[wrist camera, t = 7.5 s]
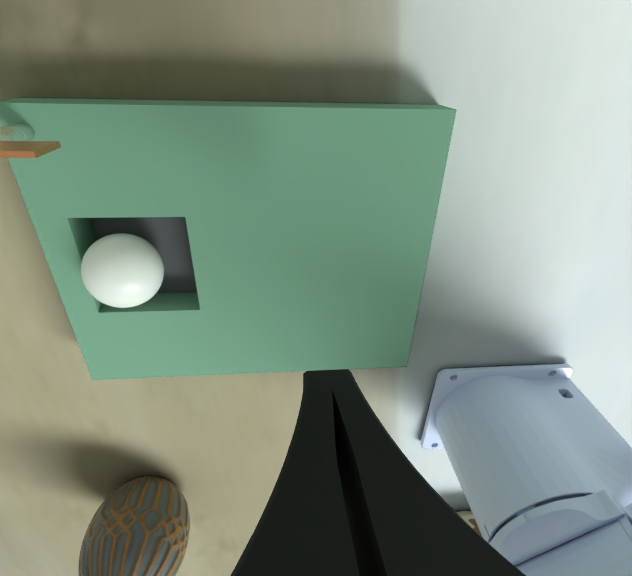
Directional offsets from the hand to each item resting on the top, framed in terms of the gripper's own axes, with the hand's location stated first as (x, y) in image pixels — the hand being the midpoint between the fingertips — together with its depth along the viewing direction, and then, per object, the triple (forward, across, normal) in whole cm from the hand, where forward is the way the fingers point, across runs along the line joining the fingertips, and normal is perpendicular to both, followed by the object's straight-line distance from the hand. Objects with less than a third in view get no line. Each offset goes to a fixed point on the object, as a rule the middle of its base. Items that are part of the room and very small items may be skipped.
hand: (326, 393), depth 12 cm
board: (+10, +3, 0) cm, 11 cm away
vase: (+11, +12, +21) cm, 26 cm away
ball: (+10, +10, 0) cm, 14 cm away
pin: (+10, +10, -6) cm, 16 cm away
